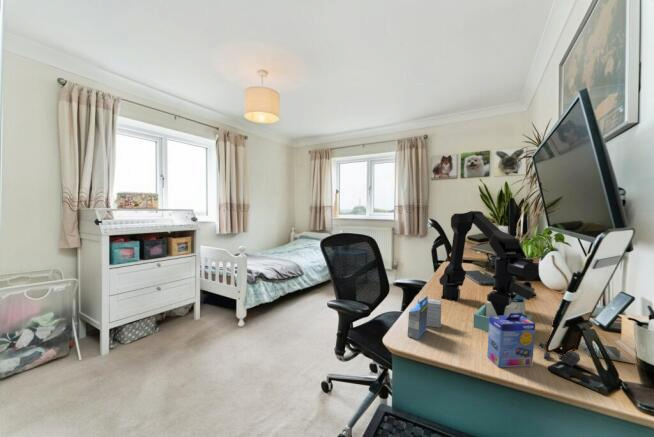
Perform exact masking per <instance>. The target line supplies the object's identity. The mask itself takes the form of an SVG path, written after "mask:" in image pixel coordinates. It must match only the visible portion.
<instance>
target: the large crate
mask: <svg viewBox="0 0 654 437" xmlns="http://www.w3.org/2000/svg"><path fill="white" fill-rule="evenodd" d="M522 316H523V317H525V318H527V319H529V320H530V321H532V320H533V319H532V318H533V316H532V315H531V314H526V313H525V314H522ZM532 322H533V321H532ZM473 328H475V329H477V330H478V329H479V330H481V331H485V332H488V333H489V317H487V316H486V304H483V305H482V306H481V307H480V308H479V309H478V310H477V311H476V312H475V313H474V314H473Z"/></svg>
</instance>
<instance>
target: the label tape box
mask: <svg viewBox="0 0 654 437" xmlns="http://www.w3.org/2000/svg"><path fill="white" fill-rule="evenodd" d="M428 297H429V296H428V295H426V296H425V297H423V298H424V299H423V300H422V301H420V302H419V304H418V303H416V304H415V306H414V307H413V308H412V309H411V310H409V312H408V317H407V318H408V320H407V337H409V338H411V337H412V339H414V338H415V340H420V339H421V337H422V335H423V334H424V333H425V331H426V330H427V326H426V322H427V305H428V299H429V298H428ZM423 302H425V303H423Z"/></svg>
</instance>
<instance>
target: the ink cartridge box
mask: <svg viewBox="0 0 654 437" xmlns="http://www.w3.org/2000/svg"><path fill="white" fill-rule="evenodd" d="M522 314H523V313H510V314H509V315H508V316H503V315H501V316H489V332H488V340H487V358H488V359H490V360H491V362H493V363H494V364H495V365H496V366H497V367H498V368H517V367H518V368H519V367H520V368H521V367H522V368H525V367H528V368H529V367H532V366H533V360H534V359H533V357H534V346H535V345H534V344H535V335H536V323H535V322H533V321H530V320H529V319H527V318H525V317H523V316H522Z"/></svg>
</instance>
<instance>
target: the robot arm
mask: <svg viewBox="0 0 654 437" xmlns="http://www.w3.org/2000/svg"><path fill="white" fill-rule="evenodd" d="M473 224H474V226H475V227H476V228H477V229H479V231H480V232H481V233H482V234H483V235H484V236H485V237H486V238H487V239H488V242H489V245H490V247H491V249H492V250H493V252H494V253H493V254H491V255H490V258H493V259H494V261H495V262H494V274H493V275H492V279H494V281H493V283H494V285H493V286H492V291H490V292H489V293H487V295H486V296H487V297H486V302H487V301H490V302H491V304H492V306H493V308H494V310H495V312H496V314H497V316H501V315H503V316H504V312H505V308H506V306H508V305H510V304H511V300H512V299H513V298H515V297H516V296H517V295H515V294H518V295H520V296H522V297H524V298H525V300H528V301H529V300H530V299H531V297H532V296H533V294H534V292H535V290H536V289H535V288H534V287H533V286H532V282H533V281H534V280H536V279H537V277H538V275H539V268H538V266H537V264H535V263H534V259H533V258H527V255H526V253H525V252H524V250H523V248H522V246H521V244H520V241H519V239H518V238H516V237H515V236H514V235H511V234H510V233H508V232H505V231H502V230H501V229H499V227H497V225H495V224H494V223H493V222H492V221H491V220H490V219H489V218H488V217H487V216H486V215H485V214H484V213H483V212H482V211H480V210H470V211H467V212H464V213H459V212H458V213H453V215H451V218H450V228H451V229H452V232H453V237H452V243H451V251H450V256H449V257H450V259H449V263H448V264H447V266H445V268H444V271H443V274H442V275H441V276H440V278H439V284H440V285H441V286H442V295H441V296H440V298H441V299H444V300H449V301H452V302H456V301H458V300H459V299H461V289H460V287H463V285H464V283H465V282H464V281H465V280H466V274H467V270H465V269H464V267H463V260H464V259H463V258H464V252H465V248H466V239H467V234H468V233H469V232H471V229H472V227H473ZM517 278H519V279H521V280H525V281H524V282H523V281H518V280H517ZM513 292H514V293H515V294H513Z"/></svg>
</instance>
